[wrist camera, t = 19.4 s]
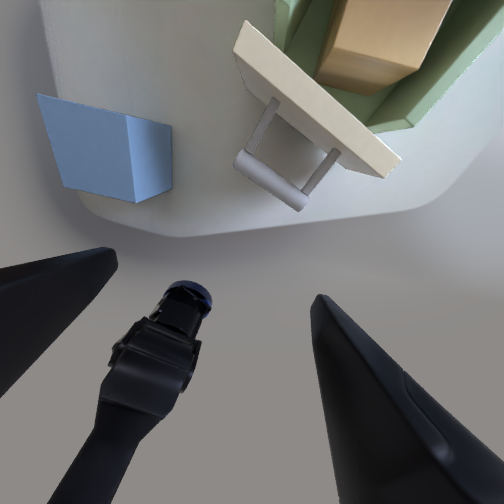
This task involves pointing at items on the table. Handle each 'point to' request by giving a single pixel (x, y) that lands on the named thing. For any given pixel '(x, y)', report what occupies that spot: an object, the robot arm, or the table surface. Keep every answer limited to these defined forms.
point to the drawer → (343, 102)
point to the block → (376, 42)
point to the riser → (108, 150)
